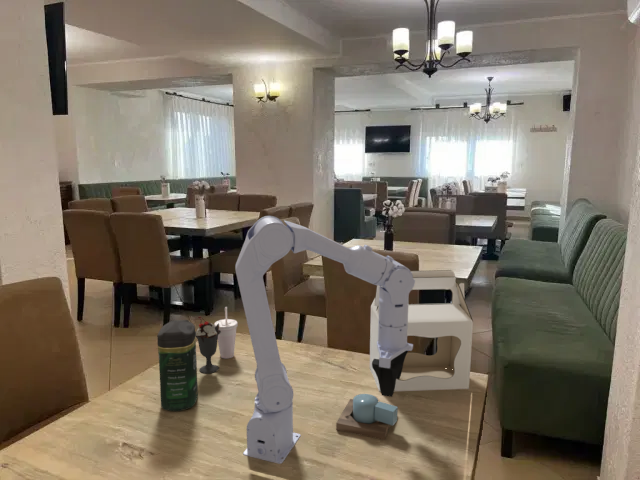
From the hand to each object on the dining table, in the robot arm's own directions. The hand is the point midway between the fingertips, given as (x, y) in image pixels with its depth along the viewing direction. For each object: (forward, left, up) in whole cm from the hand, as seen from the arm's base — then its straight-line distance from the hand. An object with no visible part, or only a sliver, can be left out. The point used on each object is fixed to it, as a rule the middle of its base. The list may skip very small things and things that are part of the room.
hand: (391, 386), depth 93 cm
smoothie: (+19, +50, -10) cm, 54 cm away
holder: (0, +5, -9) cm, 11 cm away
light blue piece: (-1, +3, -9) cm, 9 cm away
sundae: (+10, +50, -10) cm, 52 cm away
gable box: (+24, -2, -10) cm, 26 cm away
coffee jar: (-6, +47, -10) cm, 48 cm away
